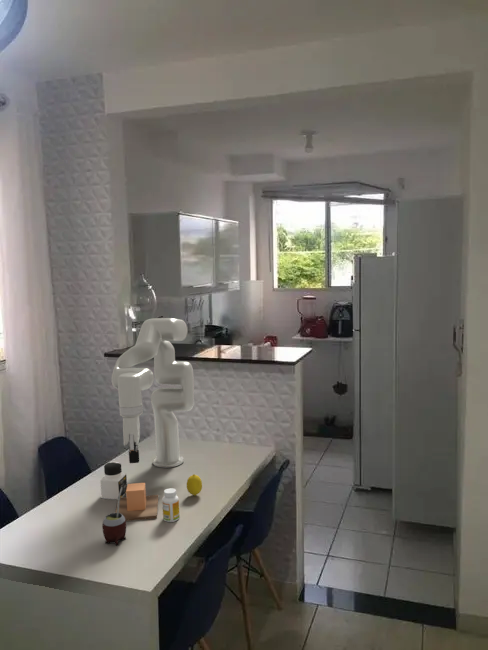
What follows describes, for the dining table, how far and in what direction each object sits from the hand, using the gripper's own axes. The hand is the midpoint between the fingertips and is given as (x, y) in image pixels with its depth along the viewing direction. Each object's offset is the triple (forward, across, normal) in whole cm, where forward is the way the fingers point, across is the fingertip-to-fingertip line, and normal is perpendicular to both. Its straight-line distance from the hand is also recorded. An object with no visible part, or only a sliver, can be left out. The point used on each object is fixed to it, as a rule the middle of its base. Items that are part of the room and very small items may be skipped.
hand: (134, 462), depth 192 cm
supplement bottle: (+17, +9, +12) cm, 23 cm away
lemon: (+17, -7, +20) cm, 27 cm away
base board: (+17, 0, 0) cm, 17 cm away
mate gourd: (+17, +20, -5) cm, 27 cm away
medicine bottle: (+17, -13, -9) cm, 23 cm away
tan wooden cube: (+16, 0, 0) cm, 16 cm away
